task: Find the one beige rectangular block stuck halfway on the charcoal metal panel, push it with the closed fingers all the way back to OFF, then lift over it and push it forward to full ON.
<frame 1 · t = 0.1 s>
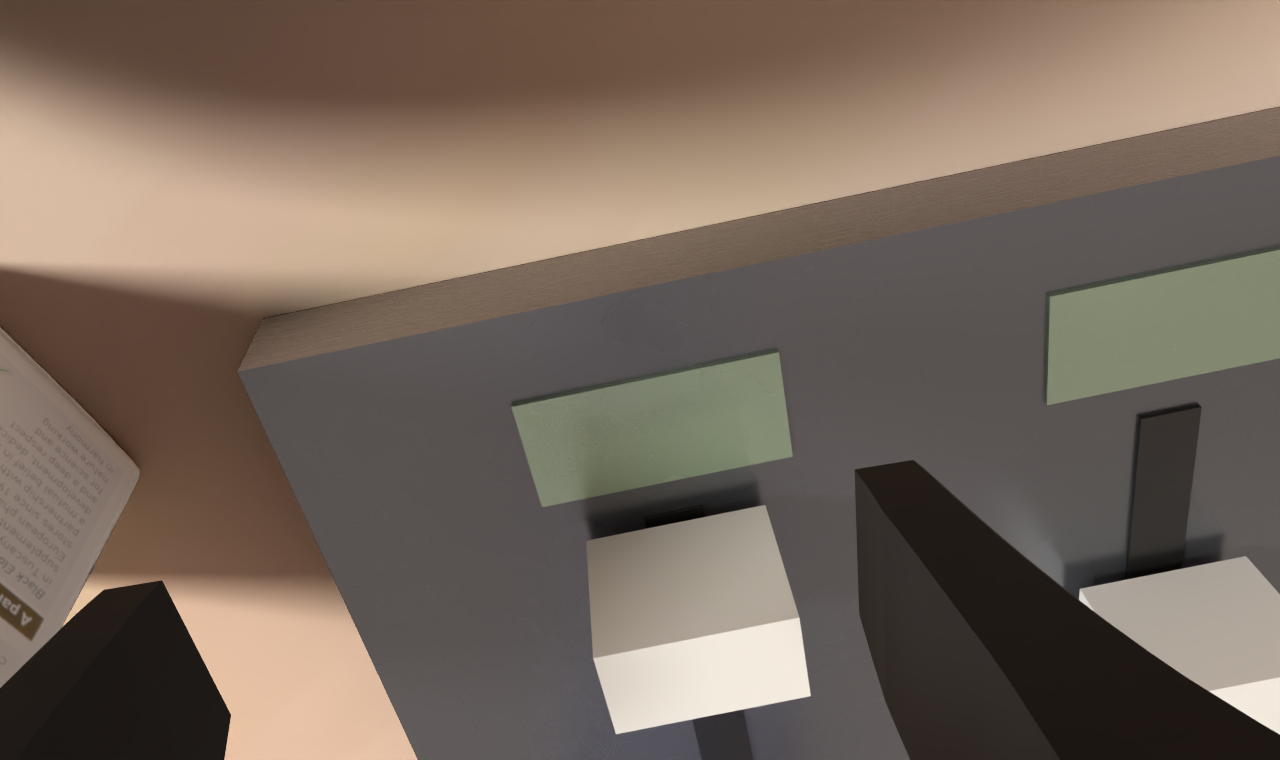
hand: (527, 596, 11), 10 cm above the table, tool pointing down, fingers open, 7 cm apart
breaker panel: (901, 576, 25), on the table
beige rectangular block: (1197, 658, 21), point 4 cm above the table, slide at 4.0 cm
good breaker: (693, 615, 19), point 4 cm above the table, slide at 8.0 cm
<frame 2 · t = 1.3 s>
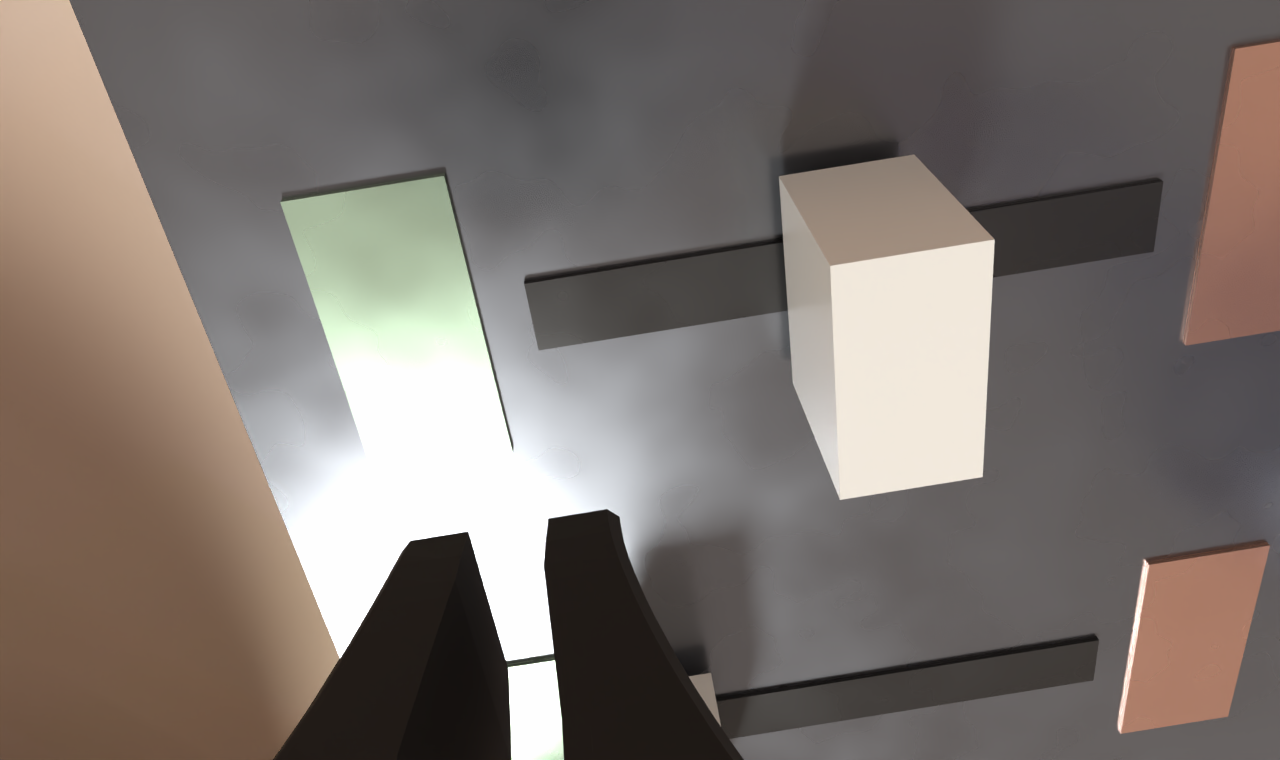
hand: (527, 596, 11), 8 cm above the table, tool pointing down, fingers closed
breaker panel: (825, 447, 21), on the table
beige rectangular block: (878, 322, 15), point 4 cm above the table, slide at 4.0 cm
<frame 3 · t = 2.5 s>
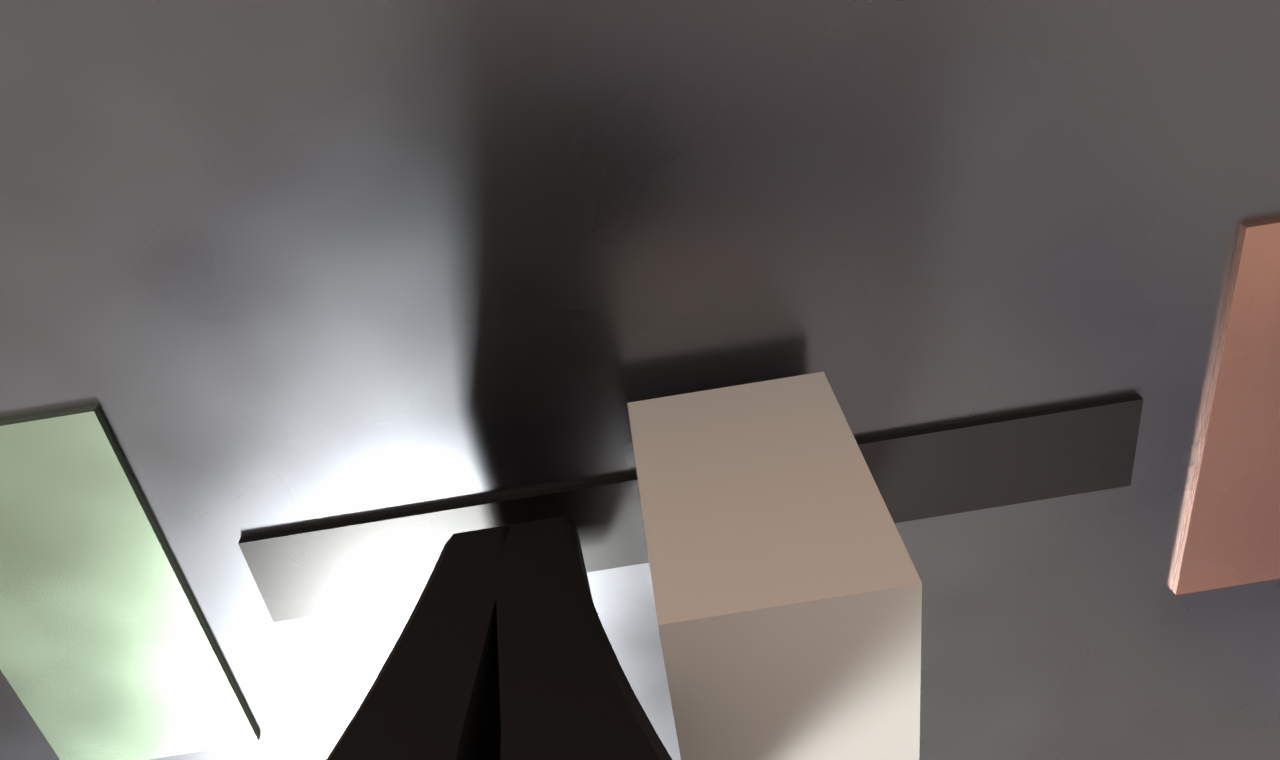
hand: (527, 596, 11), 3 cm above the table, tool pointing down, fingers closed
breaker panel: (712, 677, 16), on the table
beige rectangular block: (766, 626, 10), point 4 cm above the table, slide at 3.6 cm, touching gripper
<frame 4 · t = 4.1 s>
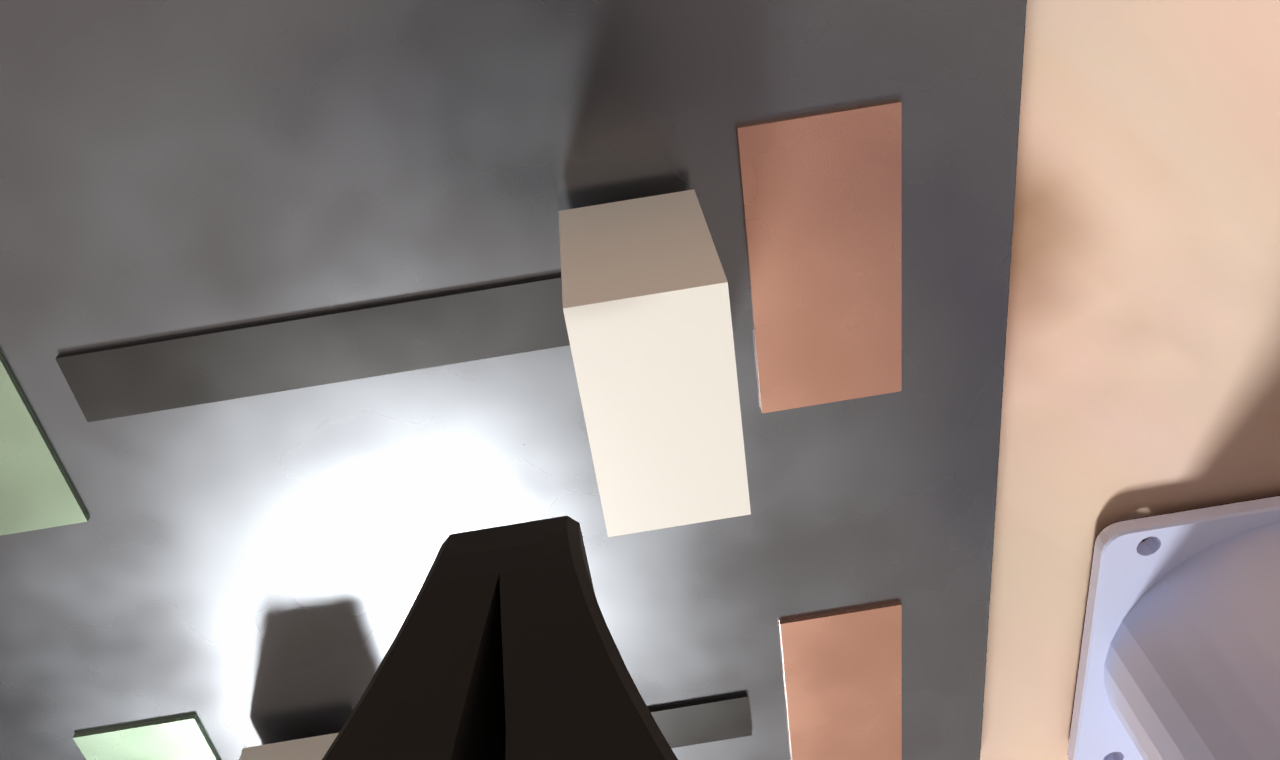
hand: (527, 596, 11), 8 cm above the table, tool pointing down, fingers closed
breaker panel: (465, 505, 21), on the table
beige rectangular block: (652, 358, 15), point 4 cm above the table, slide at -0.1 cm
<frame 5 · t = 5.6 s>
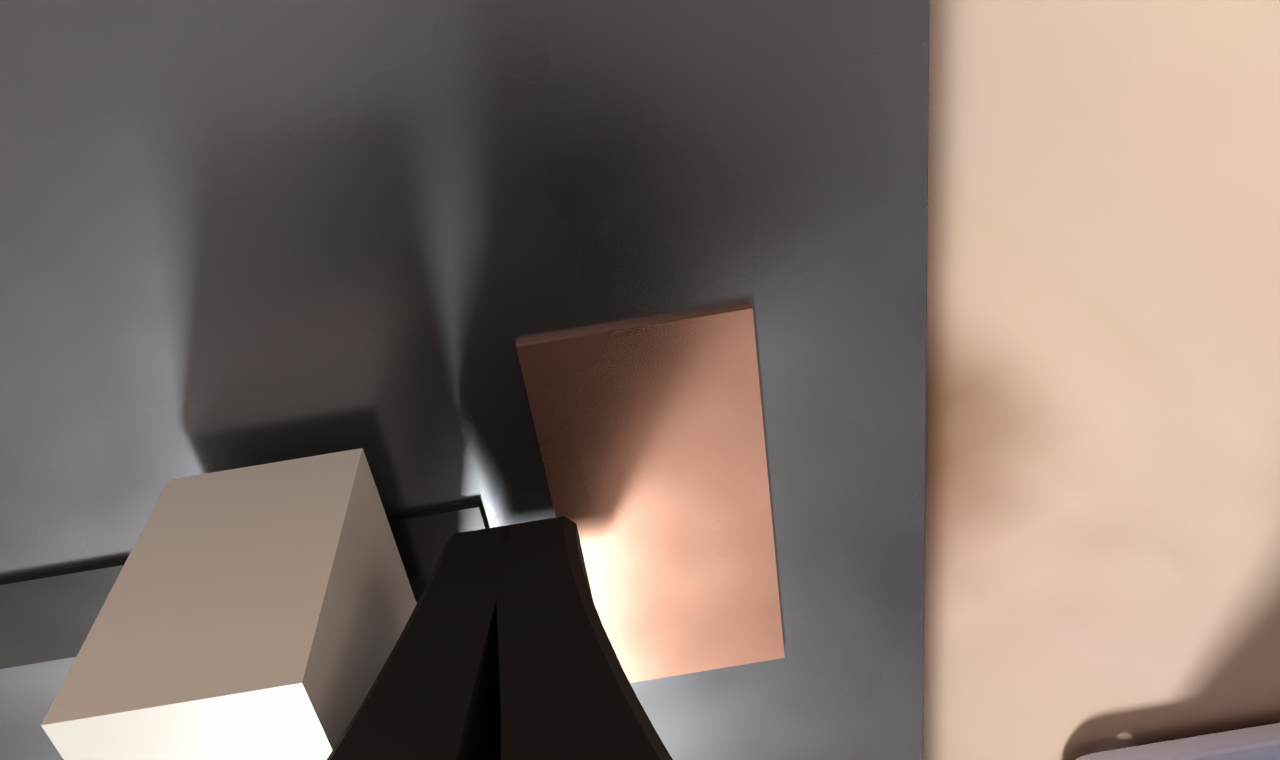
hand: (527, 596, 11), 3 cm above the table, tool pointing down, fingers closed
breaker panel: (248, 753, 16), on the table
beige rectangular block: (289, 704, 10), point 4 cm above the table, slide at 0.9 cm, touching gripper
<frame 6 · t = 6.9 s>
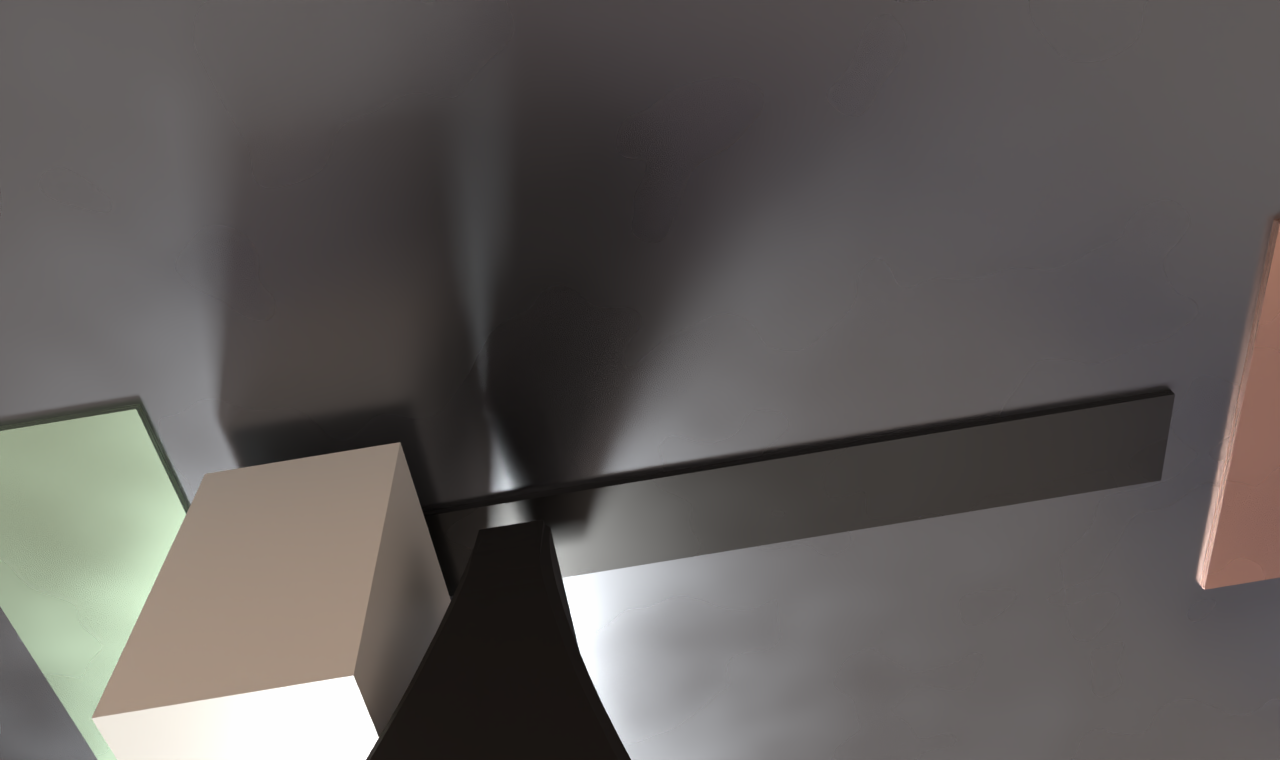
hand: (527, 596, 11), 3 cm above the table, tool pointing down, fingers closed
breaker panel: (738, 674, 16), on the table
beige rectangular block: (328, 698, 10), point 4 cm above the table, slide at 8.3 cm, touching gripper
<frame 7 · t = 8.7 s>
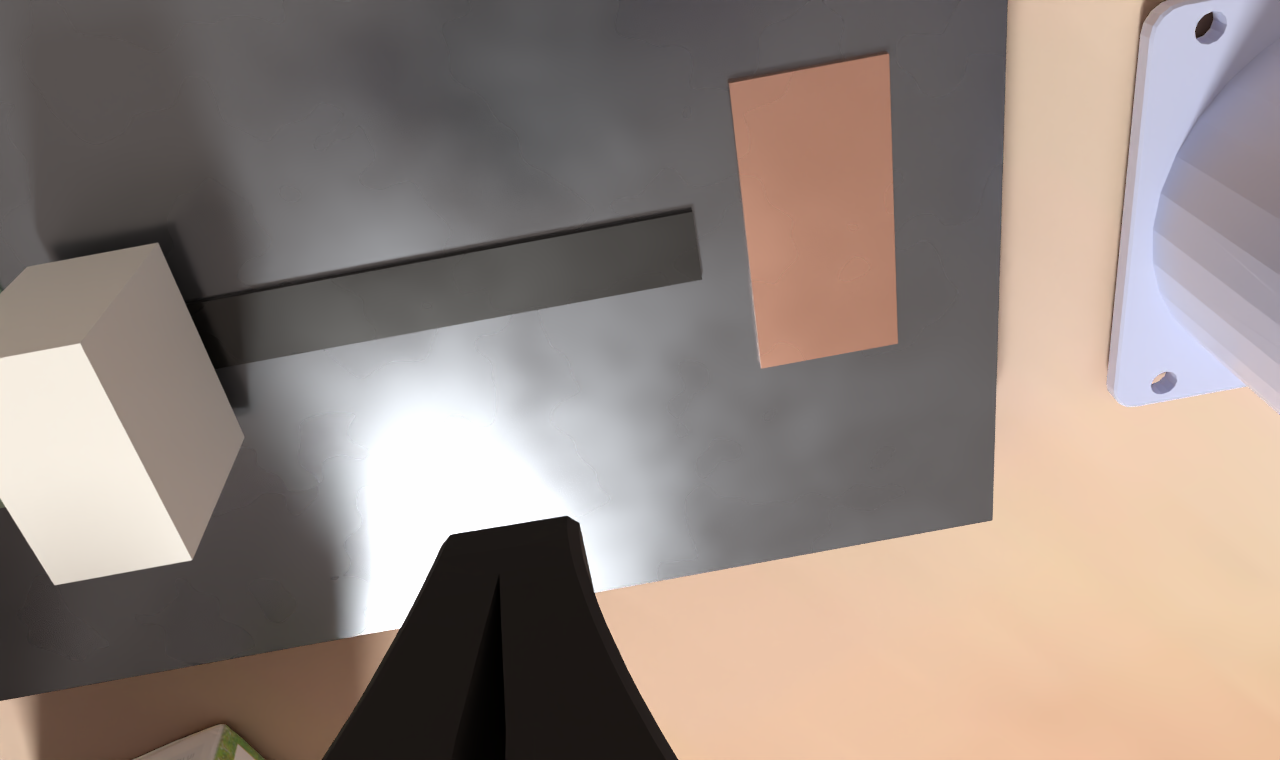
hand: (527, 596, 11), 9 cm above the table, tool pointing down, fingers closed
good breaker: (107, 409, 15), point 4 cm above the table, slide at 8.0 cm
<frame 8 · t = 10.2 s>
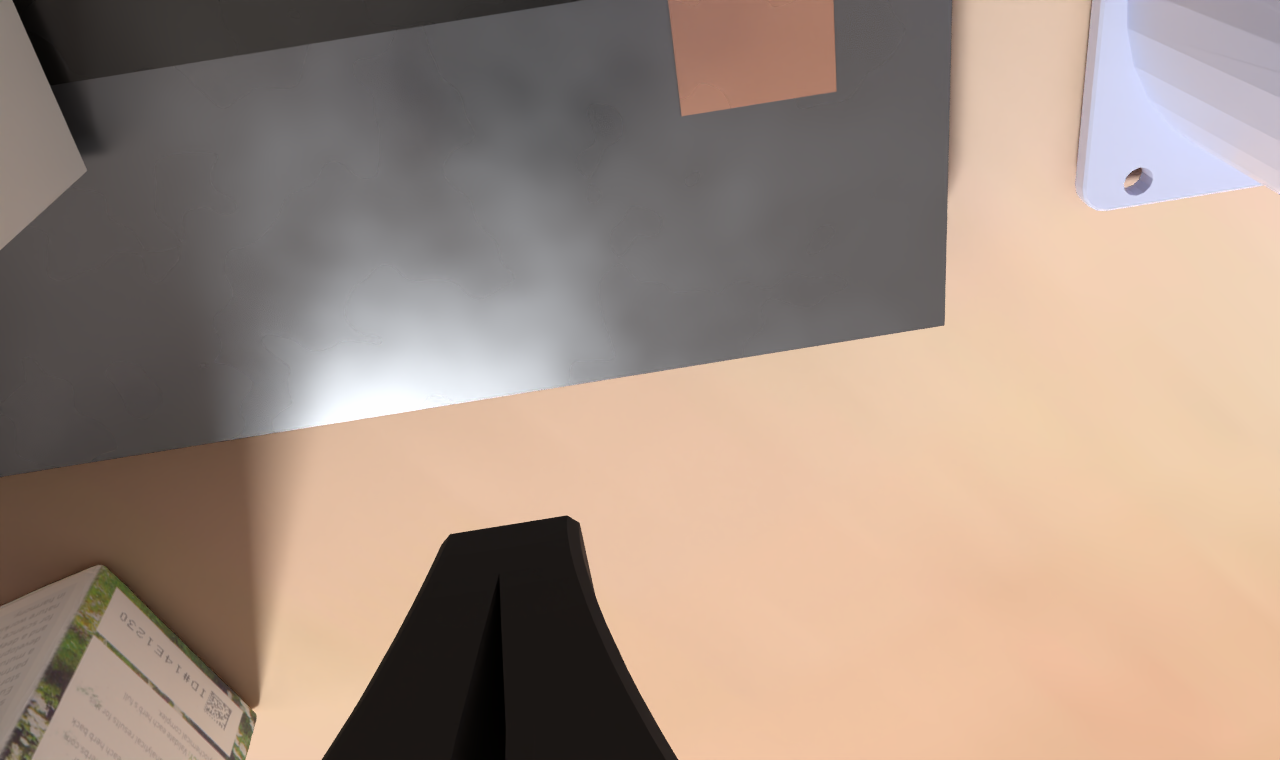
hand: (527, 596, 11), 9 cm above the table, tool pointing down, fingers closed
syrup box: (93, 673, 24), on the table
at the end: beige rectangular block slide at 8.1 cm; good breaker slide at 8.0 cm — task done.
